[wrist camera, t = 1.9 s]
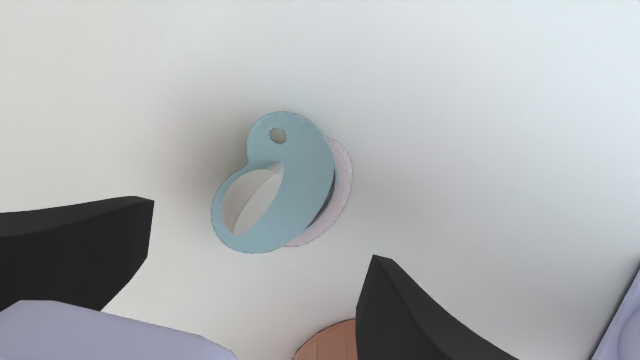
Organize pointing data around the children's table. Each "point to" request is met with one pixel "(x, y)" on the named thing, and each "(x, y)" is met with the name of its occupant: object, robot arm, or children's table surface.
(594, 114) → the children's table surface
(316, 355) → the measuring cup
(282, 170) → the pacifier
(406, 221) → the children's table surface
